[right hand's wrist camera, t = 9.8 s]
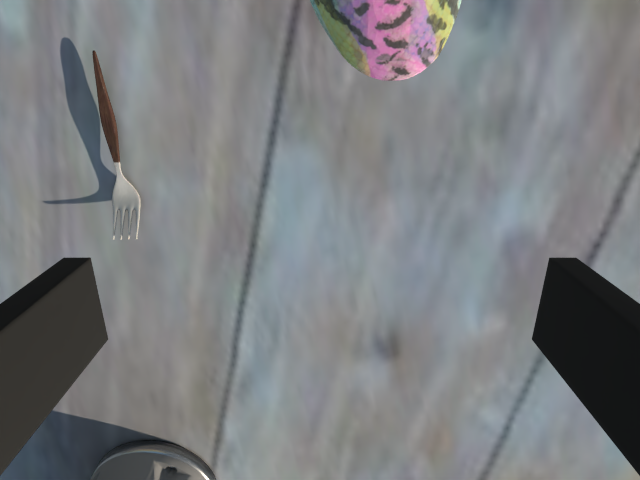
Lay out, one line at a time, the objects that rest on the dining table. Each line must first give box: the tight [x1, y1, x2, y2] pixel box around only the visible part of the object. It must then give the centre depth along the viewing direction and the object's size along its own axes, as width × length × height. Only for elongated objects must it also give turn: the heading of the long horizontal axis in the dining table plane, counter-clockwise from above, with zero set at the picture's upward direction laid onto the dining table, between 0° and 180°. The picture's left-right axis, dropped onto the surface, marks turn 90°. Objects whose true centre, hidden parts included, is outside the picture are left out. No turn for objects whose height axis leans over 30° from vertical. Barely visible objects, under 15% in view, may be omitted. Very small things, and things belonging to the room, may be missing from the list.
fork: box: [93, 51, 140, 240], centre depth 37 cm, size 3×16×2 cm, turn 1°
